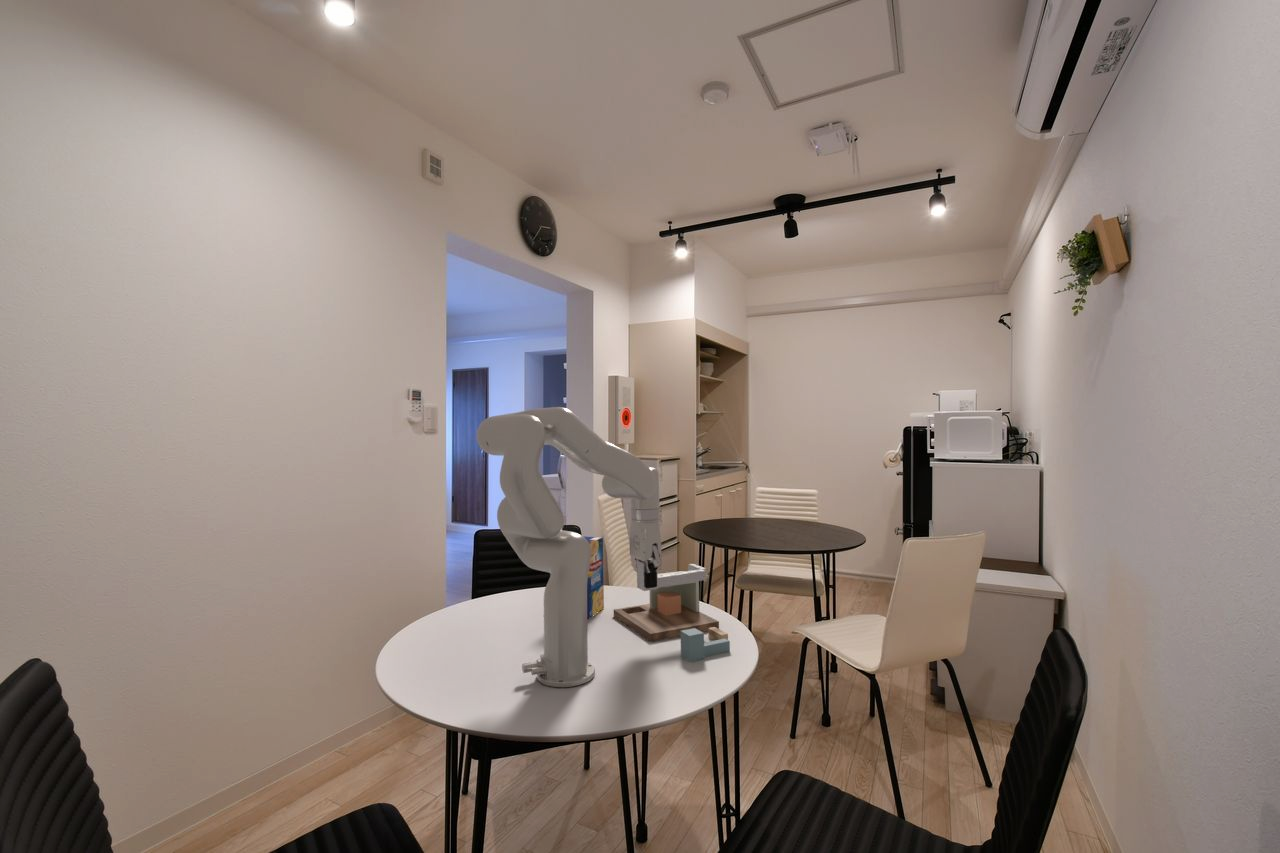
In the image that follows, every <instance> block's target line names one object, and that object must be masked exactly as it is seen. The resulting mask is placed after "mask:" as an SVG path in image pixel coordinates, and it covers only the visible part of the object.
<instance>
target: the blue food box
mask: <svg viewBox="0 0 1280 853" xmlns="http://www.w3.org/2000/svg"><path fill="white" fill-rule="evenodd" d="M582 536H583V535H582ZM583 537H584V538H585V539H586V540H587V541H588V542H589V545H590V548H591V561H590V566H589V572H588V580H587V620H590V619H591V618H593V617H594V616H596V615H597V614H598V613H597V612H599V611H600V610H602V609H603V608H604V609H605V604H604V603H605V600H604V599H605V594H604V592H605V591H604V590H605V589H604V587H605V586H604V584H605V582H604V537H602V536H601V537H599V536H583ZM604 609H603V610H604ZM603 610H602V611H603ZM600 612H601V611H600ZM600 612H599V613H600ZM596 613H597V614H596ZM595 614H596V615H595ZM593 615H594V616H593ZM592 616H593V617H592ZM590 617H591V618H590ZM589 618H590V619H589Z"/></svg>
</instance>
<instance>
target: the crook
mask: <svg viewBox="0 0 1280 853" xmlns="http://www.w3.org/2000/svg"><path fill="white" fill-rule="evenodd" d="M652 559H653V558H652ZM652 559H651V558H650V560H652ZM651 563H653V562H649V565H651ZM687 566H688V567H687V568H688V570H686V571H682V572H679V573H673V574H666V575H660V576H658V574H659V573H658V572H657V587H654V588H648V589H647V588H645V572H646V564H645V562H644V561H641V560H638V561H637V568H636V586H637V587H636V588H638V589H639V590H641V591H643V592H646V591H650V590H654V589H658V588H659V587H665V586H671V585H677V584H683V583H689V582H696V581H699V582H700V581H705V580H706V578H707V568H706V567H703V566H700V565H698V564H695V563H688V564H687Z"/></svg>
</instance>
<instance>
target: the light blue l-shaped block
mask: <svg viewBox="0 0 1280 853" xmlns="http://www.w3.org/2000/svg"><path fill="white" fill-rule="evenodd" d="M704 634H705V633H704V632H701V631H699V630H697V629H696V628H693V629H688V630H682V631H681V636H680V657H682V658H683V659H685V660H686V661H687V662H689V663H691V662H696V661H700V660H704V659H705V657H710V656H715V655H720V654H724V653H729V652H730V651H731V646H730V645H731V643H730V640H729V639H728V640H727V639H720V640H711V641H707V642H705V635H704Z"/></svg>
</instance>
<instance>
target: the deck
mask: <svg viewBox="0 0 1280 853" xmlns="http://www.w3.org/2000/svg"><path fill="white" fill-rule="evenodd" d="M614 616H615V617H616V619H617V618H618V619H619V620H618V619H617V620H618V621H620V620H621V621H622V622H621V621H620V622H621V623H622V624H624V623H625V624H624V625H626V626H627V625H628V626H629V627H628V626H627V627H628V628H630V627H631V628H632V630H633V629H634V630H635V631H634V630H633V631H634V632H636V633H637V632H638V633H637V634H639V635H640V634H641V635H640V636H641V637H643V636H644V637H645V639H646V640H647V639H648V640H647V641H649V642H650V641H652V642H656V640H657V641H660V640H661V639H663V640H666V638H668V639H673V638H678V637H681V631H682V630H688V629H693V628H696V629H697V630H699V631H701V632H703V633H704V632H708V628H711V627H716V628H718V629H720V621H718V620H717V619H715V618H713V617H711V616H709V615H707V614H705V613H703V612H701V611H699V612H695V611H693V610H691V609H689V608H687V607H685V606H683V605H681V613H678V614H672V615H664V614H662V613H660V612H659V611H658V608H655V609H650V603H645V604H641V605H640V604H639V605H633V606H626V607H621V608H614V609H613V617H614ZM615 617H614V618H615ZM631 628H630V629H631ZM677 636H678V637H677ZM644 637H643V638H644ZM672 637H673V638H672ZM661 641H662V640H661Z"/></svg>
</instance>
